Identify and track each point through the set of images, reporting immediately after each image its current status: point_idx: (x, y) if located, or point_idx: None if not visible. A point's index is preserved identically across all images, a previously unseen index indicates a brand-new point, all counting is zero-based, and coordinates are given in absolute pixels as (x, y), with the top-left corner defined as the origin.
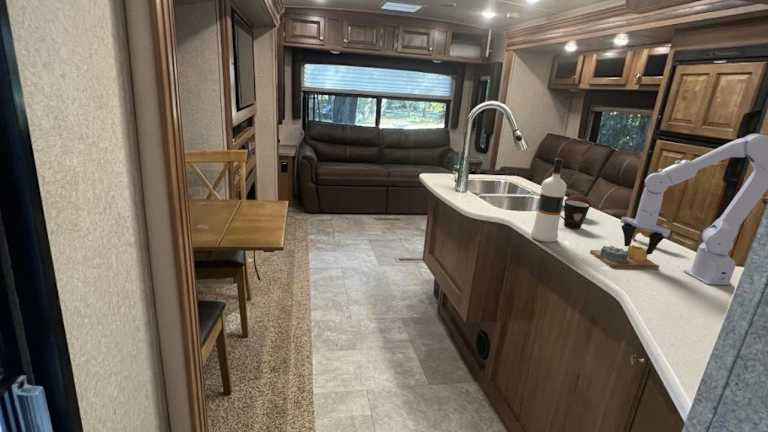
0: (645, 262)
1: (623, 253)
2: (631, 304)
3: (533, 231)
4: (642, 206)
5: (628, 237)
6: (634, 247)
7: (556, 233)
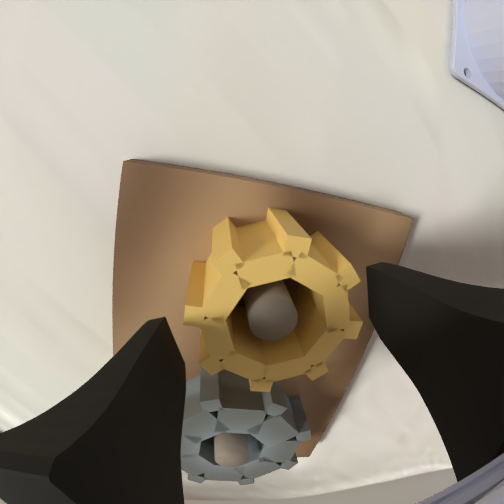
0: None
1: (290, 437)
2: None
3: None
4: None
5: (169, 429)
6: (228, 323)
7: None
